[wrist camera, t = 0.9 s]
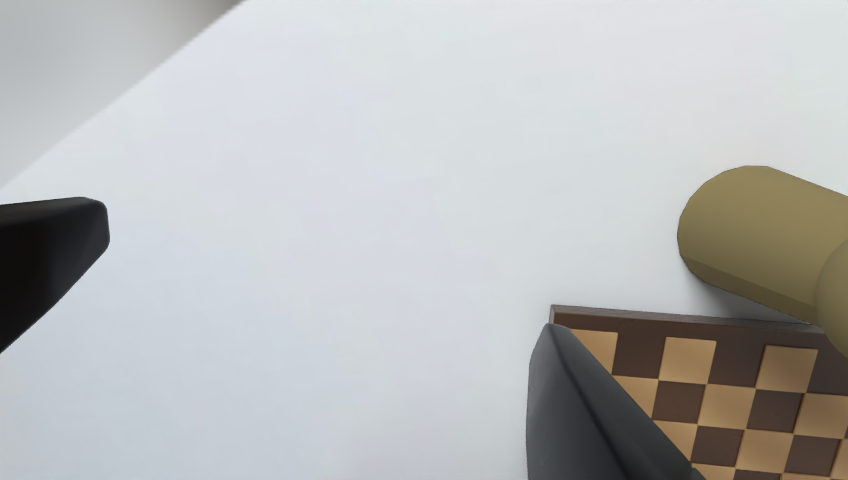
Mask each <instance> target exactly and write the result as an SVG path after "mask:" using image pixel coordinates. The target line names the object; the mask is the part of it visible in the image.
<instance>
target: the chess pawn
mask: <svg viewBox="0 0 848 480" xmlns="http://www.w3.org/2000/svg"><path fill="white" fill-rule="evenodd" d="M677 239H678V245H679V251H680V255H681V257H682V258H683V260H684V262H685V263H686V265H687V267H688V268H689V270H690V271H691V272H692V273H694V274H695V275H696V276H697V277H699V278H700V279H701V280H702V281H704V282H706V283H708V284H711V285H713V286H716V287H719V288H721V289H724V290H726V291H729V292H731V293H734V294H736V295H739V296H742V297H744V298H747V299H749V300H752V301H754V302H757V303H760V304H762V305H765V306H767V307H770V308H772V309H775V310H778V311H780V312H783V313H785V314H788V315H790V316H793V317H795V318H798V319H801V320H803V321H806V322H808V323H811V324H813V325H816V326H819V327H821V328H823V330H824V332H825V334H826V336H827V337H828V339H829V341H830V342H831V343H832V344H833V345H834V346H835V347H836V349H837V350H838V351H839V352H840V353H841V354H843V355H844V356H845V357H846V358H848V196H846V195H843V194H840V193H838V192H835V191H832V190H830V189H827V188H824V187H822V186H819V185H816V184H814V183H811V182H808V181H806V180H803V179H800V178H798V177H795V176H792V175H790V174H787V173H784V172H782V171H779V170H776V169H773V168H771V167H768V166H743V167H739V168H735V169H731V170H728V171H724V172H722V173H721V174H719V175H717V176H715V177H714V178H712V179H710V180H709V181H707V182H705V183H704V184H703V185H702V186H701V187H700V188H699V189H698V190H697V191H696V192H695V194H694V195H693V196H692V197H691V198H690V199H689V201H688V203H687V205H686V207H685V209H684V210H683V212H682V214H681V216H680V221H679V227H678V233H677Z"/></svg>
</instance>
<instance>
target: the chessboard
mask: <svg viewBox="0 0 848 480" xmlns="http://www.w3.org/2000/svg"><path fill="white" fill-rule="evenodd" d="M549 323H554V324H557V325H561V326H565V327H567V328H569V329H570V330H571V331H572V332H573V334H574V335H575V336H576V337H577V338H578V339H579V340H580V341H581V342H582V343H583V345H584V346H585V347H586V348H587V349H588V350H589V351H590V352H591V353H592V354H593V356H594V357H595V358H596V359H597V360H598V361H599V362H600V363H601V364H602V365H603V367H604V368H605V369H606V370H607V371H608V372H609V373H610V374H611V375H612V376H613V377H614V379H615V380H616V381H617V382H618V383H619V384H620V385H621V386H622V387H623V388H624V390H625V391H626V392H627V393H628V394H629V395H630V396H631V397H632V398H633V399H634V401H635V402H636V403H637V404H638V405H639V406H640V407H641V408H642V409H643V410H644V412H645V413H646V414H647V415H648V416H649V417H650V418H651V419H652V420H653V421H654V423H655V424H656V425H657V426H658V427H659V428H660V429H661V430H662V431H663V432H664V434H665V435H666V436H667V437H668V438H669V439H670V440H671V441H672V442H673V443H674V444H675V446H676V447H677V448H678V449H679V450H680V451H681V452H682V453H683V454H684V455H685V457H686V458H687V459H688V460H689V461H690V462H691V463H692V468H693V467H695V468H696V469H697V470H698V471H699V472H700V473H701V474H702V475H703V476H704V477H705V478H706V480H848V358H846V357H845V356H844V355H843V354H841V353H840V352H839V351H838V350H837V349H836V347H835V346H834V345H833V344H832V343H831V342H830V341H829V339H828V337H827V336H826V334H825V332H824V330H823V328H821V327H819V326H816V325H808V324H795V323H782V322H769V321H756V320H744V319H731V318H718V317H705V316H693V315H680V314H667V313H654V312H642V311H629V310H616V309H603V308H591V307H578V306H565V305H551V309H550V317H549Z"/></svg>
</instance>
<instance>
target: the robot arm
mask: <svg viewBox="0 0 848 480" xmlns="http://www.w3.org/2000/svg"><path fill="white" fill-rule="evenodd" d="M109 242H110V233H109V224H108V215H107V208H106V206H105V205H104V204H103V203H102V202H100V201H97V200H93V199H90V198H86V197H71V198H61V199H52V200H42V201H32V202H23V203H13V204H3V205H0V354H1V353H2V352H3V351H4V350H5V349H6V348H8V347H9V346H10V345H11V344H12V343H13V342H14V341H15V340H17V339H18V338H19V337H20V336H21V335H22V334H23V333H24V332H26V331H27V330H28V329H29V328H30V327H31V326H32V325H33V324H35V323H36V322H37V321H38V320H39V319H40V318H41V317H42V316H44V315H45V314H46V313H47V312H48V311H49V310H50V309H51V308H52V307H53V306H54V305H55V304H56V303H57V302H58V301H59V300H60V299H61V298H62V297H63V296H64V295H65V294H66V293H67V292H68V291H69V290H70V288H71V287H72V286H73V285H74V284H75V283H76V282H77V281H78V280H79V279H80V278H81V277H82V276H83V274H84V273H85V272H86V271H87V270H88V269H89V268H90V267H91V266H92V265H93V264H94V263H95V261H96V260H97V259H98V258H99V257H100V256H101V255H102V254H103V253H104V252H105V251H106V249H107V247H108V245H109ZM526 452H527V467H528V480H706V478H705V477H704V476H703V475H702V474H701V473H700V472H699V471H698V470H697V469H696V468H695V467H693V468H692V463H691V462H690V461H689V460H688V459H687V458H686V457H685V455H684V454H683V453H682V452H681V451H680V450H679V449H678V448H677V447H676V446H675V444H674V443H673V442H672V441H671V440H670V439H669V438H668V437H667V436H666V435H665V434H664V432H663V431H662V430H661V429H660V428H659V427H658V426H657V425H656V424H655V423H654V421H653V420H652V419H651V418H650V417H649V416H648V415H647V414H646V413H645V412H644V410H643V409H642V408H641V407H640V406H639V405H638V404H637V403H636V402H635V401H634V399H633V398H632V397H631V396H630V395H629V394H628V393H627V392H626V391H625V390H624V388H623V387H622V386H621V385H620V384H619V383H618V382H617V381H616V380H615V379H614V377H613V376H612V375H611V374H610V373H609V372H608V371H607V370H606V369H605V368H604V367H603V365H602V364H601V363H600V362H599V361H598V360H597V359H596V358H595V357H594V356H593V354H592V353H591V352H590V351H589V350H588V349H587V348H586V347H585V346H584V345H583V343H582V342H581V341H580V340H579V339H578V338H577V337H576V336H575V335H574V334H573V332H572V331H571V330H570V329H569V328H567V327H565V326H561V325H557V324H554V323H547V324H546V325H545V326H544V327H543V330H542V332H541V334H540V336H539V339H538V341H537V343H536V346H535V348H534V350H533V352H532V355H531V359H530V364H529V380H528V398H527V417H526Z"/></svg>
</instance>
